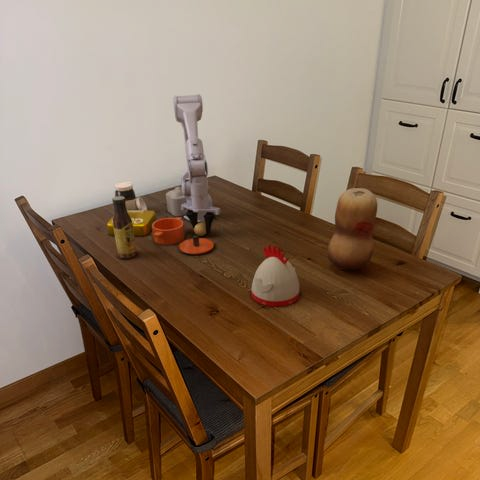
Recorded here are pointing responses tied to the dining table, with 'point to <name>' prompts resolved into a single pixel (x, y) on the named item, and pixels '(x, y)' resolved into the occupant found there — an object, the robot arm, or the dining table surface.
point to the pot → (168, 231)
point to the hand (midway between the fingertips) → (202, 230)
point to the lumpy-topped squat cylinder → (176, 202)
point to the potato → (200, 228)
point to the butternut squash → (353, 229)
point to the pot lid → (196, 245)
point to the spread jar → (129, 196)
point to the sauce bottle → (123, 229)
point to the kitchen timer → (275, 280)
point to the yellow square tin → (138, 222)
